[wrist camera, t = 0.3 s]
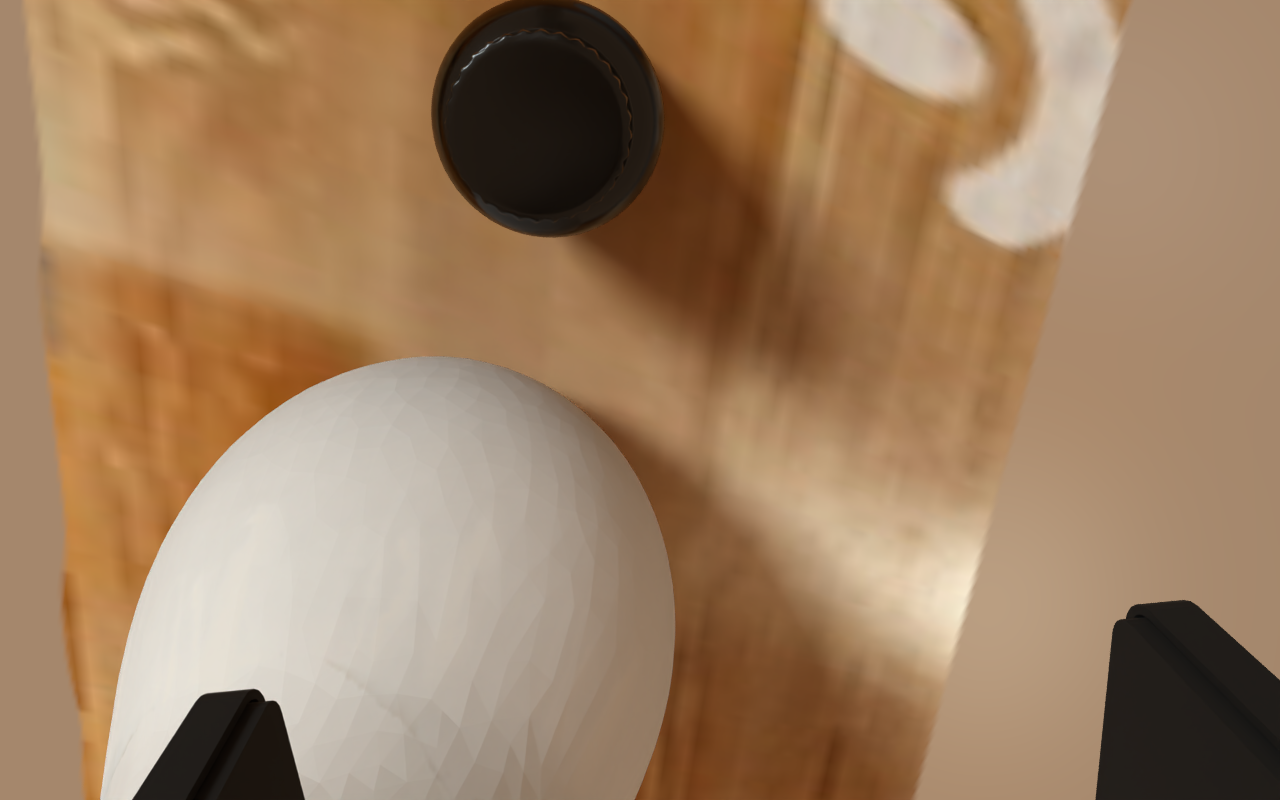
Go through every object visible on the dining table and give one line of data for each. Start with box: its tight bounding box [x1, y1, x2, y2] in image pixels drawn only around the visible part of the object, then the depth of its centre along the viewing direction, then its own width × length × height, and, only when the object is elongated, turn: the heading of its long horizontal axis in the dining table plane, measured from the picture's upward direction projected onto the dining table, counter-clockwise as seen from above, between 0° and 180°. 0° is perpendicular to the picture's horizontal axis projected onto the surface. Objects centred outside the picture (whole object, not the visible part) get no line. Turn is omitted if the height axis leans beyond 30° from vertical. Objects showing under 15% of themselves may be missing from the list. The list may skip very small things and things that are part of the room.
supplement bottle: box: [431, 0, 664, 237], centre depth 29 cm, size 7×7×12 cm
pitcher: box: [100, 356, 675, 800], centre depth 28 cm, size 24×17×28 cm
